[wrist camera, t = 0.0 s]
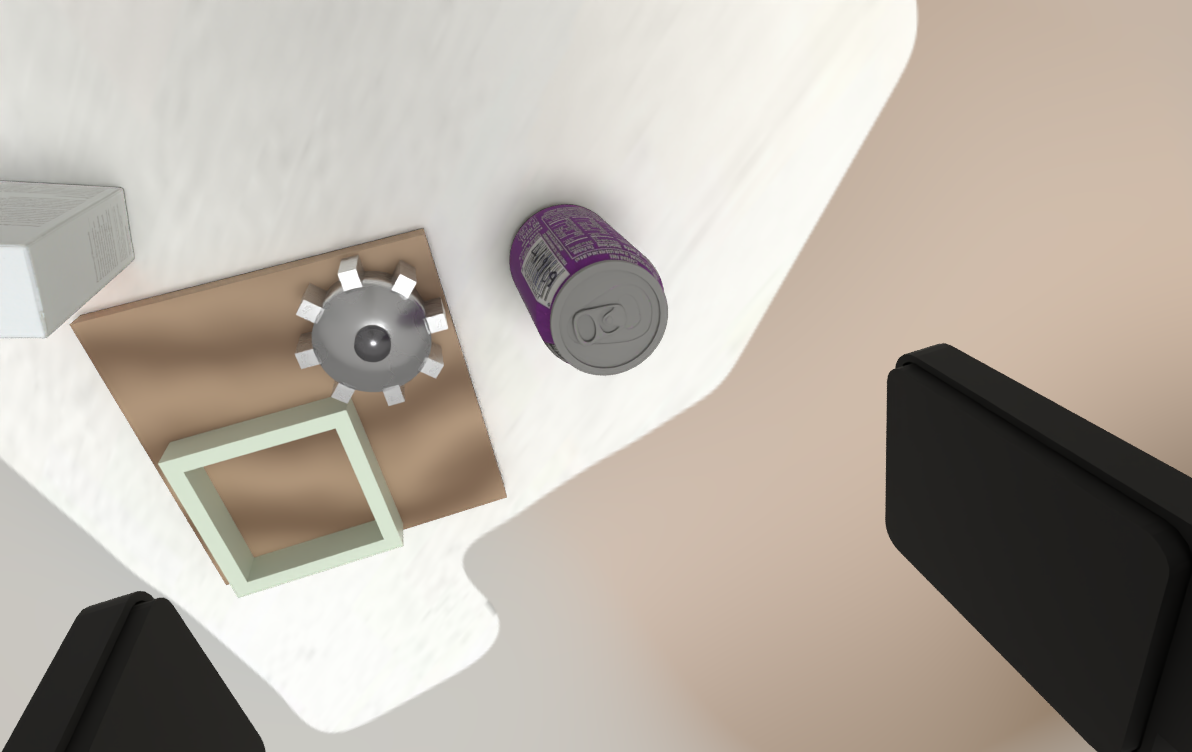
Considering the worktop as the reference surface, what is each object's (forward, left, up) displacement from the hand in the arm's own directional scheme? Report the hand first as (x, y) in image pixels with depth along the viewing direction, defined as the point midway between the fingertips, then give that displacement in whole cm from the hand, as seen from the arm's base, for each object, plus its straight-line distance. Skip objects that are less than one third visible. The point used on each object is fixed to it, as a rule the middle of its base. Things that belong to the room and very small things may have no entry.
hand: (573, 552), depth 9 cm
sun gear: (+9, -7, -35) cm, 37 cm away
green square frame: (+18, -15, -35) cm, 42 cm away
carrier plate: (+14, -12, -37) cm, 41 cm away
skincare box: (-1, -20, -37) cm, 42 cm away
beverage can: (+8, +6, -37) cm, 38 cm away
